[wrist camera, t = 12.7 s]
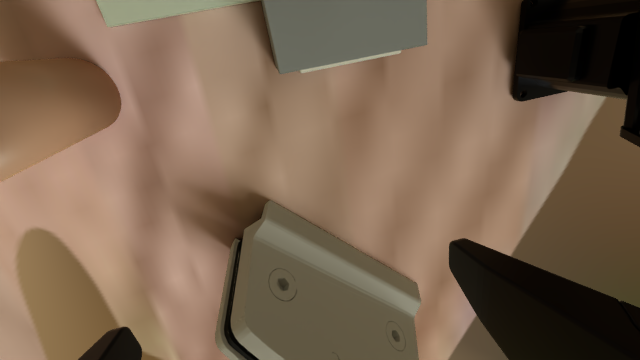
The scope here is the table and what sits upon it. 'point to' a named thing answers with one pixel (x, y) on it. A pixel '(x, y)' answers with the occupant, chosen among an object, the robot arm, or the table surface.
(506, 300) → the robot arm
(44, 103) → the terracotta cylinder
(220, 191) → the table surface
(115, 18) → the pad
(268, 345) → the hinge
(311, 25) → the unit
